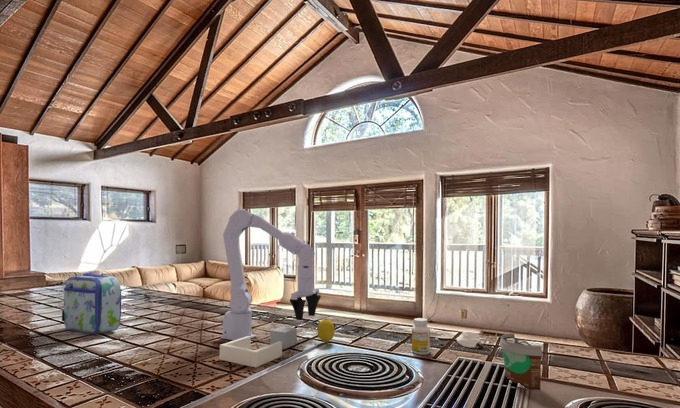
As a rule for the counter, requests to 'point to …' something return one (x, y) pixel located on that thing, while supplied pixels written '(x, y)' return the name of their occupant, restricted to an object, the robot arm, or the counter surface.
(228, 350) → the tray
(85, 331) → the lunch box
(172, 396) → the counter surface
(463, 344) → the whipped cream
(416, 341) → the supplement bottle
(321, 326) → the lemon
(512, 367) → the food container
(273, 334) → the light grey cube
